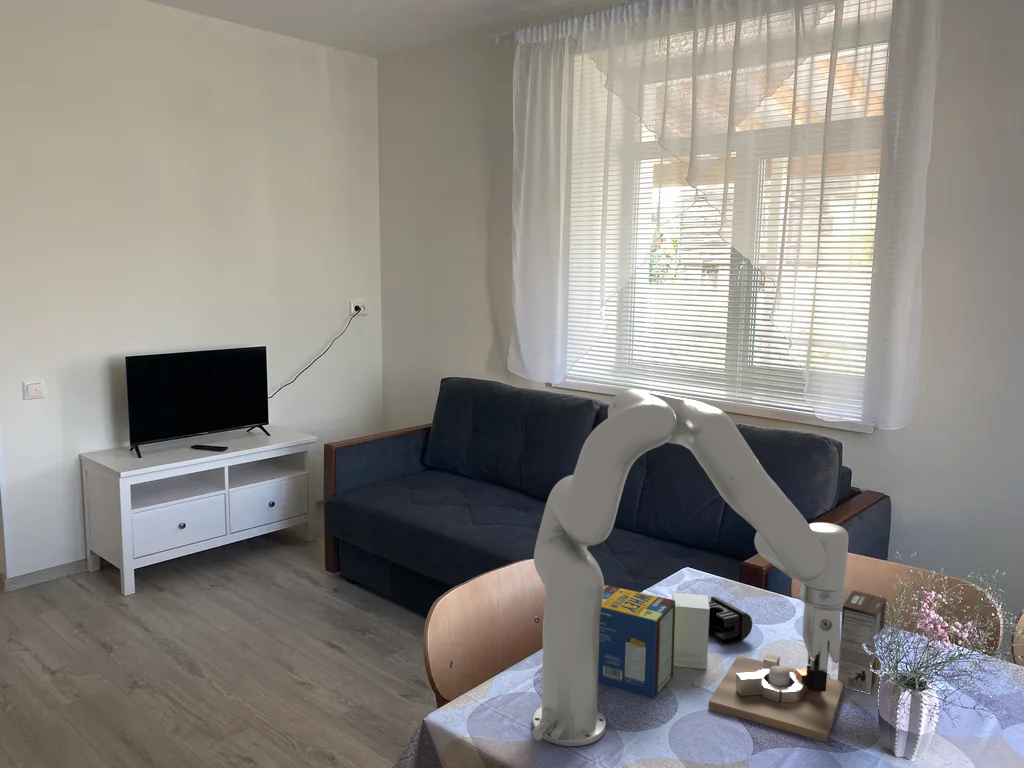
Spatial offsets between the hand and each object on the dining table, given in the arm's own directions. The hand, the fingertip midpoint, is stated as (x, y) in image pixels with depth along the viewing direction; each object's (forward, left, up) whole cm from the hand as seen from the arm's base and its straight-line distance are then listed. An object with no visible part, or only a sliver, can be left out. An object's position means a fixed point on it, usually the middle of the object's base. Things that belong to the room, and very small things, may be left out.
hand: (815, 688), depth 145 cm
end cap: (+19, +22, -3) cm, 29 cm away
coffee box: (+13, -6, -3) cm, 15 cm away
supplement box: (+4, +25, -3) cm, 26 cm away
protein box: (-9, +33, -3) cm, 34 cm away
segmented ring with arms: (-2, +6, -1) cm, 7 cm away
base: (-2, +6, -3) cm, 7 cm away
